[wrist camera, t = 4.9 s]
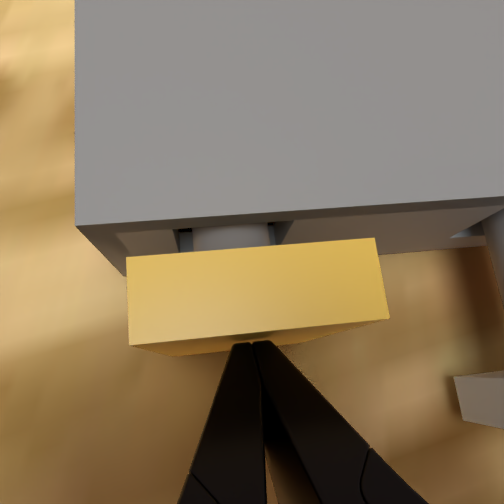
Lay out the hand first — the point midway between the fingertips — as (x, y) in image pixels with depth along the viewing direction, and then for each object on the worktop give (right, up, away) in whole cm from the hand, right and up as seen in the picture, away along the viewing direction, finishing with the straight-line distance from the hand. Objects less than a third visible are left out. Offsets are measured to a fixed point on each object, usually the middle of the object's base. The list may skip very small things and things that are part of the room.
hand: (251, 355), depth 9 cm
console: (+4, +6, +9) cm, 12 cm away
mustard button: (-1, +3, +7) cm, 8 cm away
